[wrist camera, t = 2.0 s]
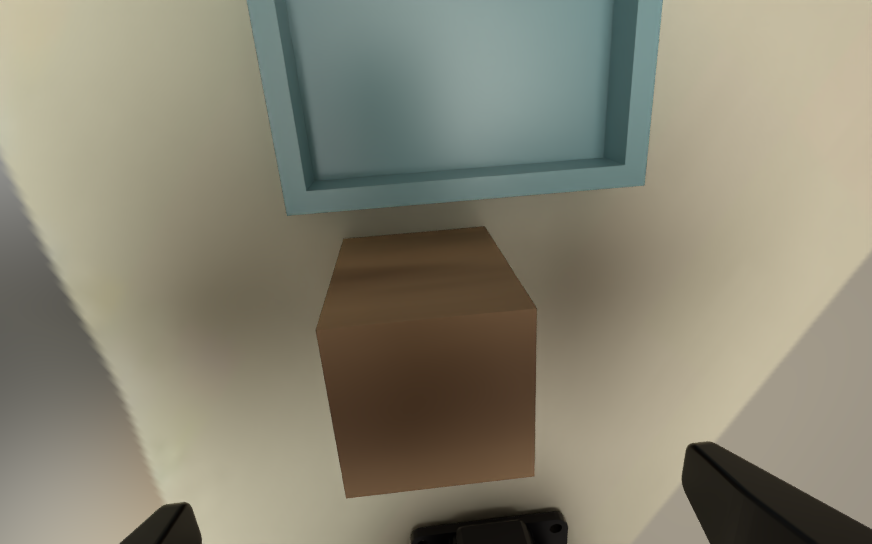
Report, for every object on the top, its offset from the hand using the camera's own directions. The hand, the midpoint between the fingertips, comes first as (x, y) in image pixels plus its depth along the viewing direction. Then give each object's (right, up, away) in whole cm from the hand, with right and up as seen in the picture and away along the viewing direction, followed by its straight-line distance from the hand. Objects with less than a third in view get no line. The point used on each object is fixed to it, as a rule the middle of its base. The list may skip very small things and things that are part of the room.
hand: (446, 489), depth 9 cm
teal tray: (0, +11, +4) cm, 12 cm away
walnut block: (-1, +3, +7) cm, 8 cm away
